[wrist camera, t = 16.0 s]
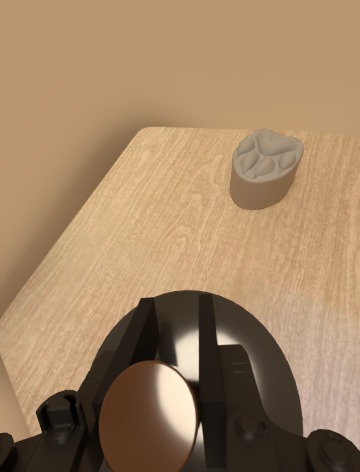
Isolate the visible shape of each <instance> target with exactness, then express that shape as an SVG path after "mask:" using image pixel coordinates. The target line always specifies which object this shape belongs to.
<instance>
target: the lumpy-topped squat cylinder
mask: <svg viewBox="0 0 360 472" xmlns="http://www.w3.org/2000/svg"><path fill="white" fill-rule="evenodd" d="M303 151H304V146H303V144H302V142H301V141H300V140H298V139H296V138H293V137H289V136H284V135H280V134H278V133H276V132H273V131H271V130H267V129H262V130H258V131H255V132H253V133H251V134H249V135H248V136H247V137H246V138H245V139H243V140H242V141H241V142H240V143H239V145H238V147H237V148H236V150H235V151H234V154H233V158H232V171H231V185H230V193H231V197H232V199H233V201H234V202H235V203H236V204H237V205H238V206H239V207H241V208H244V209H248V210H256V209H263V208H266V207H269V206H271V205H273V204H275V203H277V202H279V201H280V200H281V199H282V197H283V196H284V195H285V194H286V192H287V191H288V189H289V187H290V185H291V183H292V180H293V178H294V175H295V173H296V170H297V168H298V165H299V162H300V160H301V157H302V155H303Z"/></svg>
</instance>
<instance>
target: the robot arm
mask: <svg viewBox="0 0 360 472" xmlns="http://www.w3.org/2000/svg"><path fill="white" fill-rule="evenodd" d="M159 341H160V335H159V328H158V321H157V314H156V308H155V301H154V297H151V298H141V300H140V302H139V304H138V306H137V308H136V310H135V312H134V314H133V316H132V319H131V321H130V323H129V325H128V327H127V329H126V331H125V333H124V336H123V338H122V340H121V342H120V344H119V346H118V348H117V350H106V351H104V352H103V353H102V354H101V355H100V356H99V357H97V358H96V360H95V361H94V363H93V365H92V367H91V368H90V371H89V372H88V374H87V376H86V379H84V381H83V383H82V384H81V386H80V388H79V390H78V392H76V391H74V390H64V391H61V392H58V393H56V394H54V395H52V396H51V397H49V398H48V399H47V400H45V401H44V402H43V403H42V404H41V405H40V407H39V408H38V409H37V411H36V415H37V418H38V421H39V424H40V427H41V430H42V433H41V434H39V435H36V436H33V437H30V438H27V439H24V440H21V441H18V442H16V443H14V441H13V438H12V435H10V434H8V433H0V472H99V471H100V468H101V465H102V462H103V459H104V455H103V452H102V449H101V444H100V438H99V418H100V412H101V407H102V404H103V401H104V398H105V396H106V393H107V391H108V390H109V388H110V386H111V385H112V383H113V382H114V380H115V379H116V378H117V377H118V376H119V375H120V374H121V373H122V372H123V371H124V370H125V369H127V368H128V367H130V366H132V365H134V364H136V363H139V362H142V361H149V360H154V361H155V357H156V353H157V349H158V345H159ZM199 403H200V408H201V425H202V434H203V442H204V451H205V460H206V469H225V472H360V451H359V450H358V449H357V447H356V446H355V445H354V444H353V443H352V442H351V441H349V440H348V439H347V438H345V437H344V436H342V435H341V434H339V433H336V432H334V431H331V430H325V429H318V430H316V431H313V432H311V433H310V435H309V436H308V437H307V438H305V437H302V436H299V435H296V434H293V433H290V432H288V431H285V430H283V429H281V428H280V427H278V426H277V425H275V424H274V423H273V422H272V421H271V420H270V418H269V417H268V416H267V414H266V412H265V410H264V408H263V404H262V401H261V397H260V394H259V390H258V387H257V383H256V380H255V376H254V373H253V369H252V366H251V362H250V359H249V355H248V352H247V351H246V350H245V349H244V347H243V346H242V345H241V344H227V345H218V340H217V332H216V323H215V315H214V307H213V298H212V294H199ZM106 464H107V462H106ZM107 468H110V467H109V465H108V464H107Z"/></svg>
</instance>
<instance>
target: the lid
mask: <svg viewBox="0 0 360 472" xmlns="http://www.w3.org/2000/svg"><path fill="white" fill-rule="evenodd" d="M199 294H212V293H209V292H203V291H194V290H183V291H174V292H169V293H165V294H162V295H159V296H156V297H154V301H155V308H156V314H157V321H158V328H159V335H160V341H159V345H158V349H157V353H156V357H155V361H154V360H149V361H142V362H139V363H136V364H134V365H132V366H130V367H128V368H127V369H125V370H124V371H123V372H122V373H121V374H120V375H119V376H118V377H117V378H116V379H115V380H114V382H113V383H112V385H111V386H110V388H109V390H108V391H107V393H106V396H105V398H104V401H103V404H102V407H101V412H100V418H99V438H100V444H101V449H102V452H103V455H104V459H103V462H102V465H101V468H100V471H99V472H225V469H206V460H205V451H204V442H203V434H202V425H201V408H200V403H199ZM212 298H213V307H214V315H215V323H216V332H217V340H218V345H227V344H241V345H242V346H243V347H244V349H245V350H246V351H247V352H248V355H249V359H250V362H251V366H252V369H253V373H254V376H255V380H256V383H257V387H258V390H259V394H260V397H261V401H262V404H263V408H264V410H265V412H266V414H267V416H268V417H269V418H270V420H271V421H272V422H273V423H274V424H275V425H277V426H278V427H280V428H281V429H283V430H285V431H288V432H290V433H293V434H296V435H299V436H302V437H303V417H302V411H301V404H300V398H299V394H298V390H297V386H296V382H295V379H294V377H293V374H292V371H291V369H290V366H289V364H288V362H287V360H286V358H285V356H284V354H283V352H282V350H281V349H280V347H279V346H278V344H277V342H276V341H275V339H274V338H273V337H272V335H271V334H270V333H269V332H268V330H267V329H266V328H265V327H264V326H263V325H262V324H261V323H260V322H259V321H258V320H257V319H256V318H255V317H254V316H253V315H252V314H250V313H249V312H248V311H247V310H245V309H244V308H243V307H241V306H239V305H238V304H236V303H234V302H233V301H231V300H228V299H226V298H224V297H222V296H219V295H215V294H212ZM136 308H137V307H135V308H134V309H132V310H131V311H130V312H129V313H128V314H127V315H125V316H124V317H123V318H122V319H121V320H120V321H119V322H118V323H117V324H116V325H115V327H114V328H113V329H112V330H111V332H110V333H109V334H108V336H107V337H106V339H105V340H104V342H103V344H102V345H101V347H100V349H99V350H98V353H97V355H96V357H95V359H94V361H95V360H96V358H97V357H99V356H100V355H101V354H102V353H103V352H104V351H106V350H117V348H118V346H119V344H120V342H121V340H122V338H123V336H124V333H125V331H126V329H127V327H128V325H129V323H130V321H131V319H132V316H133V314H134V312H135V310H136ZM94 361H93V363H94ZM93 363H92V365H93ZM91 367H92V366H91ZM106 462H107V464H108V465H109V467H110V468H107V464H106Z"/></svg>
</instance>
